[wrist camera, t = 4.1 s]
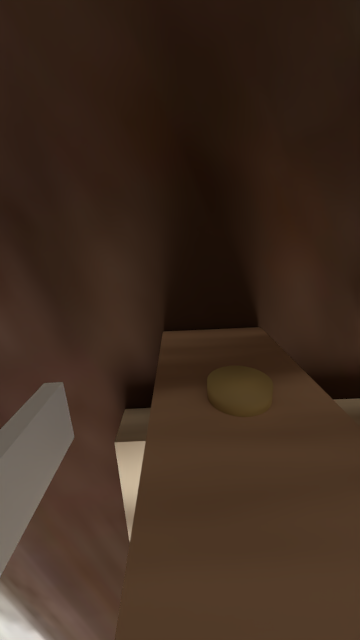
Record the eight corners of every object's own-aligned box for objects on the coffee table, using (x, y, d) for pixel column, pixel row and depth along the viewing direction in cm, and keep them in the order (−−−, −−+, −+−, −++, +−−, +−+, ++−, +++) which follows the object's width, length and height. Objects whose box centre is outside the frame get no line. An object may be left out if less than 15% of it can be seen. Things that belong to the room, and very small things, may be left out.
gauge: (162, 322, 13) (103, 639, 2) (260, 317, 13) (598, 615, 2) (176, 527, 17) (175, 943, 7) (249, 524, 17) (356, 935, 7)
